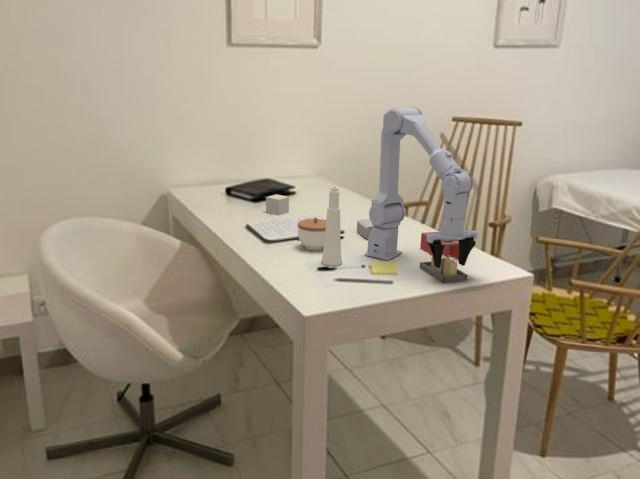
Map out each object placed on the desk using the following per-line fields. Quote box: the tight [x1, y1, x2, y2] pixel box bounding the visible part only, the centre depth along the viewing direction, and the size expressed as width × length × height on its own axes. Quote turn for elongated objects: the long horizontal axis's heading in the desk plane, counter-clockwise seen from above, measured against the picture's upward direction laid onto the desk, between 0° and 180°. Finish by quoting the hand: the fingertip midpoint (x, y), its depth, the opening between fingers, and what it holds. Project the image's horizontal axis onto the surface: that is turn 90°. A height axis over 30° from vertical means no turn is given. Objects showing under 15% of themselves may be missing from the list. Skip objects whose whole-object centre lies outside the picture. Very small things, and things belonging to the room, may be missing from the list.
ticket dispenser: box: [420, 231, 459, 261], centre depth 199 cm, size 13×8×5 cm, turn 20°
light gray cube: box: [265, 194, 290, 216], centre depth 241 cm, size 6×6×6 cm
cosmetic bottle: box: [320, 186, 343, 267], centre depth 185 cm, size 6×6×22 cm
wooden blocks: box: [431, 255, 458, 276], centre depth 181 cm, size 10×2×4 cm, turn 21°
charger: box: [356, 218, 374, 241], centre depth 219 cm, size 5×9×15 cm
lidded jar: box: [297, 217, 326, 251], centre depth 200 cm, size 11×11×9 cm
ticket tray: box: [419, 261, 469, 284], centre depth 181 cm, size 13×8×2 cm, turn 20°
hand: (449, 265), depth 178 cm, fingers open, 7 cm apart
